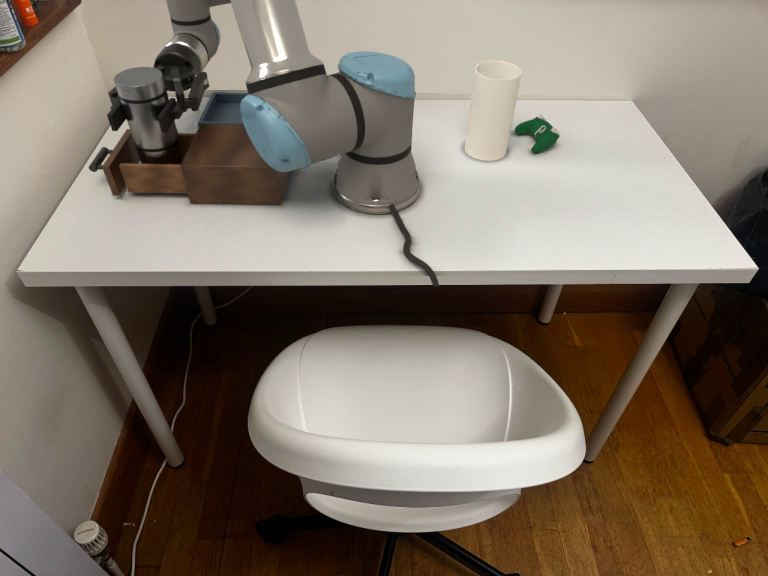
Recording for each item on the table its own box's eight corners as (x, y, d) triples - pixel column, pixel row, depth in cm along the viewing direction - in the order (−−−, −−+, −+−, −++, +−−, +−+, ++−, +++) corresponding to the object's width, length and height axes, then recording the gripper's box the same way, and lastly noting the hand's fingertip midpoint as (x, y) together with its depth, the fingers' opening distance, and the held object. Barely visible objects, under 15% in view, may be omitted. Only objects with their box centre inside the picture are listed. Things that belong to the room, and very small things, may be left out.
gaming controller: (541, 161, 112) (566, 139, 110) (532, 151, 109) (557, 128, 107) (520, 138, 118) (543, 117, 116) (511, 128, 115) (534, 106, 113)
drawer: (88, 195, 96) (75, 166, 92) (113, 156, 105) (103, 128, 101) (197, 197, 97) (190, 168, 92) (213, 158, 105) (207, 130, 101)
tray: (277, 104, 123) (276, 93, 121) (267, 135, 113) (266, 124, 112) (215, 102, 123) (212, 91, 121) (200, 134, 113) (197, 123, 112)
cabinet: (190, 203, 97) (180, 165, 91) (208, 160, 106) (200, 124, 101) (281, 205, 97) (276, 167, 92) (291, 162, 107) (287, 125, 101)
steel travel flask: (195, 170, 100) (171, 77, 88) (157, 186, 96) (127, 91, 84) (173, 154, 104) (148, 62, 92) (136, 169, 100) (104, 75, 88)
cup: (514, 156, 109) (530, 76, 98) (476, 164, 107) (489, 83, 96) (493, 136, 115) (506, 57, 104) (457, 143, 113) (466, 64, 101)
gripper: (238, 85, 107) (205, 147, 91) (133, 81, 108) (82, 143, 91) (231, 44, 102) (195, 104, 86) (121, 41, 102) (64, 99, 86)
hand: (137, 124), depth 88 cm, fingers closed on steel travel flask, 7 cm apart
